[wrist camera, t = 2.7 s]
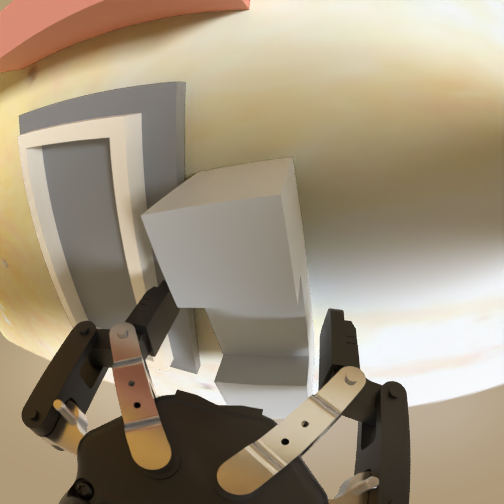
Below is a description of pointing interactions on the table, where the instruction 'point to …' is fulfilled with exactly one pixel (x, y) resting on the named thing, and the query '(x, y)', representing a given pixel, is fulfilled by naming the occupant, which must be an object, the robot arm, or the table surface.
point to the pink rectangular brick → (82, 23)
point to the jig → (107, 202)
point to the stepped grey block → (243, 277)
